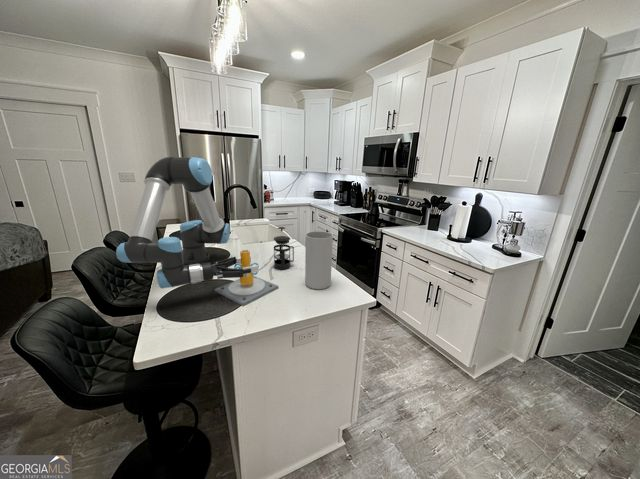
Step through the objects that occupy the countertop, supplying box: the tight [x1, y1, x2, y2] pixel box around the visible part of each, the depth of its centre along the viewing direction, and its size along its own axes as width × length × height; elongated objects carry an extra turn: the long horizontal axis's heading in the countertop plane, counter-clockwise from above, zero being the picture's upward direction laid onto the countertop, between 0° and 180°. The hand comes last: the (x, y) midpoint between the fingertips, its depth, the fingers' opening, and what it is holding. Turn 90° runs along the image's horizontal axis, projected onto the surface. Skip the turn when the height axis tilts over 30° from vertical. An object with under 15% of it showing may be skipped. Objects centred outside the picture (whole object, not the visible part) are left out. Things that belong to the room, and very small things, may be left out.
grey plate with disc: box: [214, 275, 279, 307], centre depth 117 cm, size 20×20×2 cm
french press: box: [273, 226, 295, 271], centre depth 141 cm, size 12×9×23 cm
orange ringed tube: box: [233, 249, 260, 285], centre depth 114 cm, size 12×10×15 cm
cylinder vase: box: [304, 230, 334, 290], centre depth 121 cm, size 12×12×25 cm
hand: (254, 263), depth 115 cm, fingers closed on orange ringed tube, 11 cm apart
